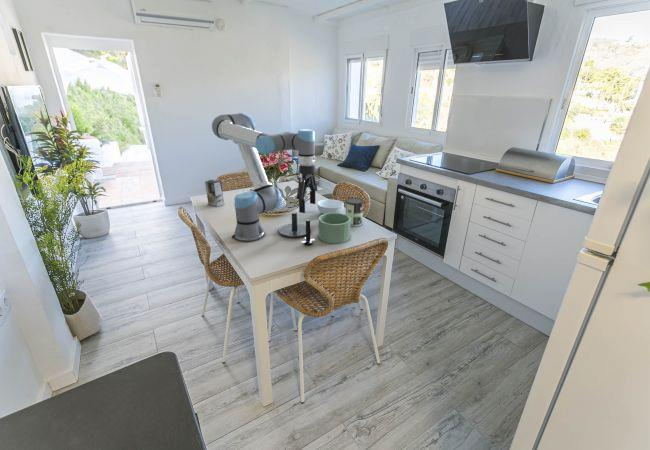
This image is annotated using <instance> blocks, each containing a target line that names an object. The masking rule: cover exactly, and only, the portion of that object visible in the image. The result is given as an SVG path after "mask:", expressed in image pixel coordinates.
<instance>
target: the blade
mask: <svg viewBox="0 0 650 450" xmlns="http://www.w3.org/2000/svg"><path fill="white" fill-rule="evenodd" d="M305 225H306V235H305V236H303V238H304V239H305V240H301V243H302V244H304V246H311V245H313V242H315V241H316V240H315V238H311V231H310V229H311V219H305Z"/></svg>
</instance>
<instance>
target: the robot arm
mask: <svg viewBox="0 0 650 450" xmlns="http://www.w3.org/2000/svg"><path fill="white" fill-rule="evenodd" d="M211 130H212V133H213V134H214V135H215V137H217V138H219V139H221V140H224V141H229V140H230V141H232V143H234V144H235V145H237V147H238V149H239V152H240V155H241V157H242V160H243V162H244V165H245V168H246V171H247V173H248V177H249V179H250V181H251V184H252V189H251V190H244V191H241V192H239V193H237V194H236V195H235V196H234V205H233V206H234V210H235V218H236V219H235V220H236V225H235V229H234V234H233V235H231V238H232V239H233V238H234V239H236V240H237V241H240V242H254V241H258V240H260V239H262V238H263V237H264V235H265V231H264V229H263V226H262V224H261V221H260V215H262V214H264V213H268V212H270V211H274V210H275V209H277V208H279V207H280V205H281V203H282V193H281V191H280V190H279V189H278V188H277V187H275V186H274V184H273V183H272V182H270V181H269V179H268V176H267V174H266V170H265V169H264V165H263V163H262V160H261V158H260V155H270V154H275V153H278V152H285V151H291V150H292V151H297V154H298V156H297V159H298V160H297V161H298V162H297V163H298V173H299V174H300V175H301V177H299V178H298V186H297V191H296V192H297V193H296V200H297V201H298V212H299V213H301V214H305V213H306V199H305V197H306V193H307V188H308V187H309V204H312V205H317V204H316V192H318V185H317V179H316V175H315V174H316V165H315V164H316V159H317V158H316V153H315V152H316V151H315V150H316V148H315V147H316V138H315V137H316V136H315V131H314V130H313V129H298V131H297V132H296V133H295V132H289V131H282V132H280V133H277V134H267V133H264V132H261V131H257V130H256V124H255V120H254V119H253V118H252V116H251V115H249V114H247V113H242V112H241V113H240V112H238V113H230V114H221V115H217V116H216V117H215V118H214V119H213V120H212V122H211ZM259 154H260V155H259Z"/></svg>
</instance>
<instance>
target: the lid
mask: <svg viewBox="0 0 650 450" xmlns="http://www.w3.org/2000/svg"><path fill="white" fill-rule="evenodd" d="M311 230H312V229H311V228H310V232H311ZM278 233H279V234H280V235H281V236H283V237H286V238H287V237H288V238H302V237H306V223H299V222H298V212H297V211H292V212H291V223H286V224H283V225H282V226H280V227H279V229H278Z"/></svg>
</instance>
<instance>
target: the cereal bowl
mask: <svg viewBox="0 0 650 450" xmlns="http://www.w3.org/2000/svg"><path fill="white" fill-rule="evenodd" d="M316 205H317V210H318V211H319V212H320V213H322V215H323V214H326V213H342V212H343V210H344V207H345V204H344V202H343V201H341V200H339V199H330V198H329V199H328V198H326V199H321V200H318V201H317V204H316Z"/></svg>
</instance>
